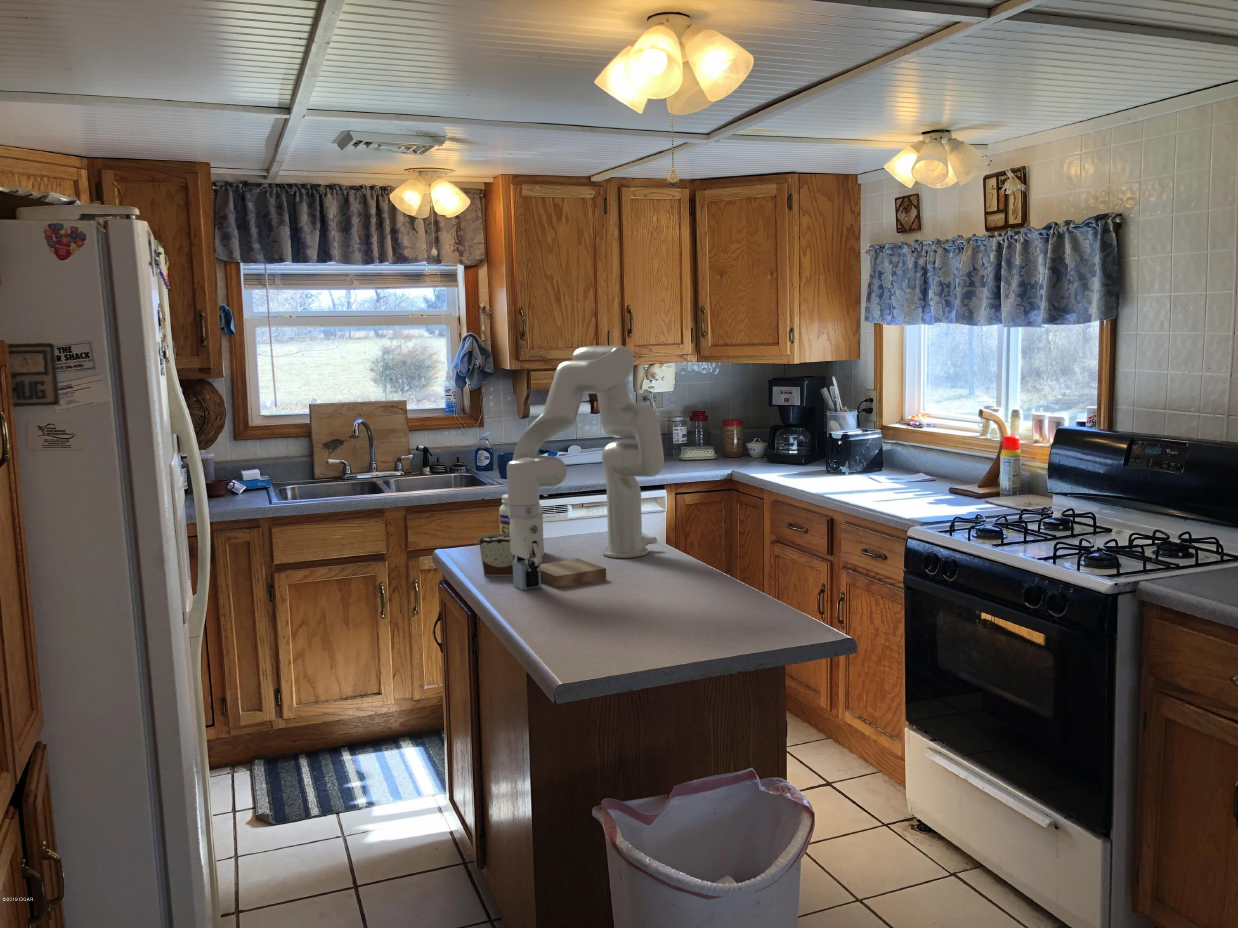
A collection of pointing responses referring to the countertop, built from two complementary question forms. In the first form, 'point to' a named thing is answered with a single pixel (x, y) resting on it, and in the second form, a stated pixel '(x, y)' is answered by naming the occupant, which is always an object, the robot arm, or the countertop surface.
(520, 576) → the slate block
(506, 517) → the supplement tub
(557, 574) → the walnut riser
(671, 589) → the countertop surface
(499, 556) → the food container
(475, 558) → the countertop surface
